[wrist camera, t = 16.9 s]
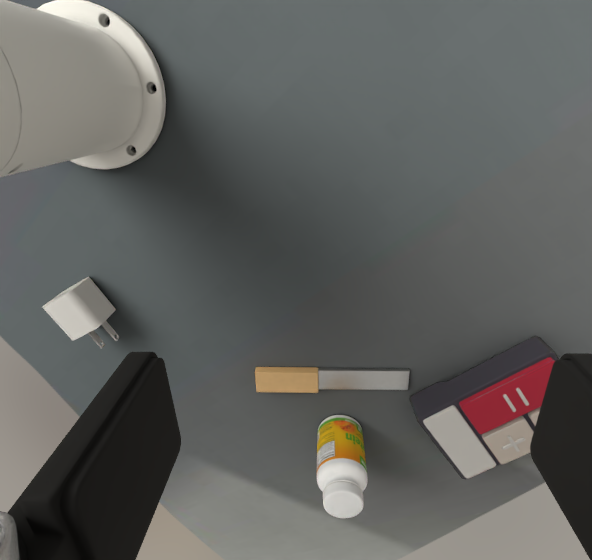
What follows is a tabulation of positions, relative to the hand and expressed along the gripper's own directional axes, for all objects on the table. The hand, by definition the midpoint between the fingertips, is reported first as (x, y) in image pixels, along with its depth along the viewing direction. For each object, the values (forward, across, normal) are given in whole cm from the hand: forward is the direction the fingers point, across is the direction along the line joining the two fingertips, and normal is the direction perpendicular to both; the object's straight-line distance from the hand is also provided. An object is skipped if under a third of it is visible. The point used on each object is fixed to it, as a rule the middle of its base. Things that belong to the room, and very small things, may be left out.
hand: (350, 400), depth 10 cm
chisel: (+28, 0, +22) cm, 36 cm away
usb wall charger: (+28, +25, +13) cm, 40 cm away
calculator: (+28, -18, +25) cm, 42 cm away
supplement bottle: (+28, -1, +30) cm, 41 cm away
